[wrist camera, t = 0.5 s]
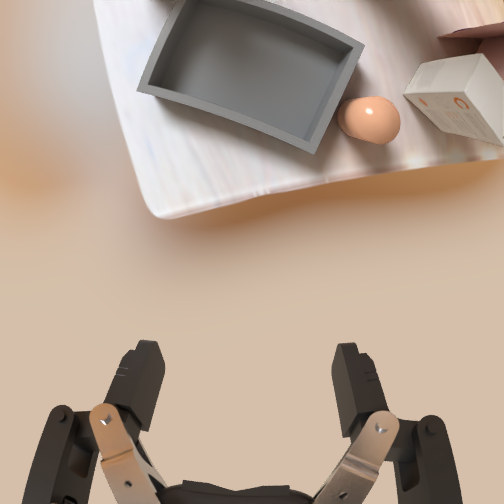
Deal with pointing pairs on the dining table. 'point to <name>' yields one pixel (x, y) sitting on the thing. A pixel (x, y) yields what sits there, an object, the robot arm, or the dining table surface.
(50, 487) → the robot arm
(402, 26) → the dining table surface
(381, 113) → the peach rounded piece
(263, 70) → the tote
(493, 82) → the small box
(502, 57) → the greeting card
